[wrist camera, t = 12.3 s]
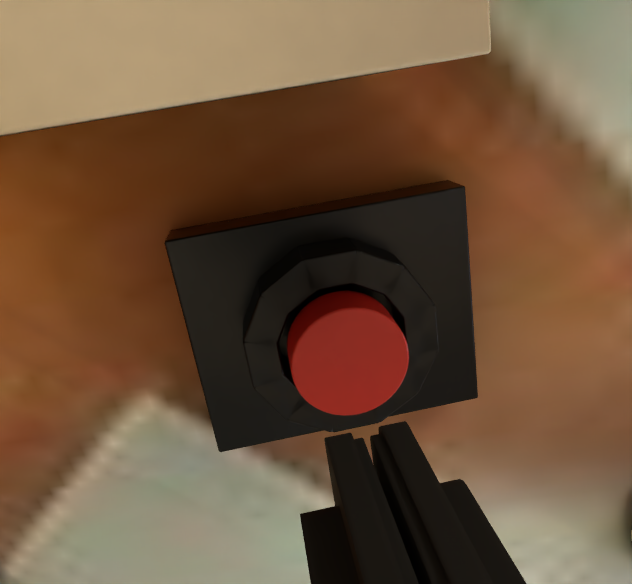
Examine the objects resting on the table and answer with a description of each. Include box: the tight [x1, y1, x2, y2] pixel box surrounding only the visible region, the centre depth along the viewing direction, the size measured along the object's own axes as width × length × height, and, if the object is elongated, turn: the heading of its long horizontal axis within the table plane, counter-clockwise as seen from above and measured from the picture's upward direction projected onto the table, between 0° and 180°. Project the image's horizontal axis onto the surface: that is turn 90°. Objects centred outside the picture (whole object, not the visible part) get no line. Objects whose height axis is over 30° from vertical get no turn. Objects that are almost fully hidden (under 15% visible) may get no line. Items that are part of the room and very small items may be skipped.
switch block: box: [165, 180, 478, 452], centre depth 21 cm, size 11×9×4 cm
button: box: [287, 291, 409, 415], centre depth 19 cm, size 4×4×2 cm
